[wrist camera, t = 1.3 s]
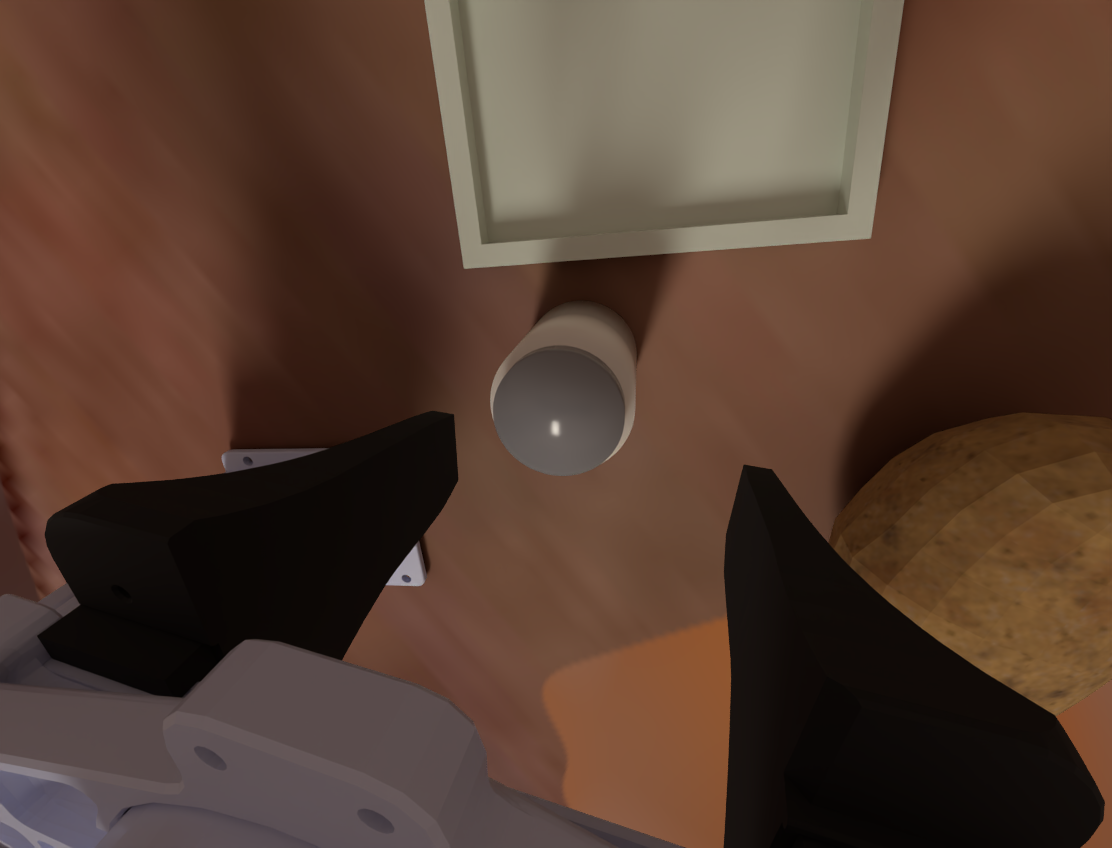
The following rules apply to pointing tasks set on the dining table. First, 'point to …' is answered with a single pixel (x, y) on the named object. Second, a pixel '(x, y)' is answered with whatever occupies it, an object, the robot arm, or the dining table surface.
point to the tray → (660, 123)
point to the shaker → (568, 390)
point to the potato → (999, 548)
